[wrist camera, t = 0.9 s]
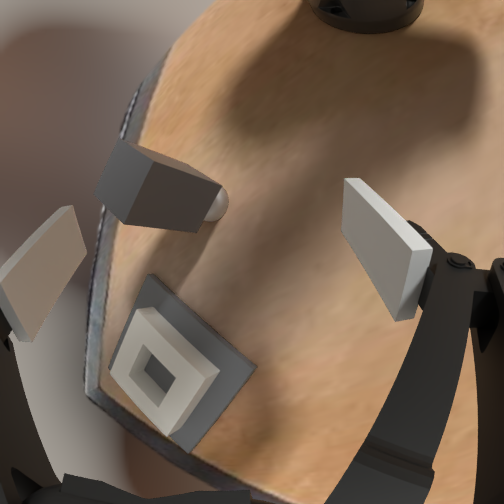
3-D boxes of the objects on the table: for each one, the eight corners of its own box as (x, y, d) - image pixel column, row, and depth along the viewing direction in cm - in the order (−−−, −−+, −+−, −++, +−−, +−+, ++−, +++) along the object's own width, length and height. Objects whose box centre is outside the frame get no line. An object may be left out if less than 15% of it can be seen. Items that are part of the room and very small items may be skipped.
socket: (153, 273, 41) (131, 274, 37) (257, 366, 34) (240, 378, 30) (112, 366, 45) (93, 372, 41) (192, 450, 38) (174, 463, 34)
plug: (207, 172, 37) (118, 138, 25) (241, 193, 35) (153, 161, 23) (185, 211, 38) (93, 194, 26) (217, 235, 36) (123, 224, 24)
